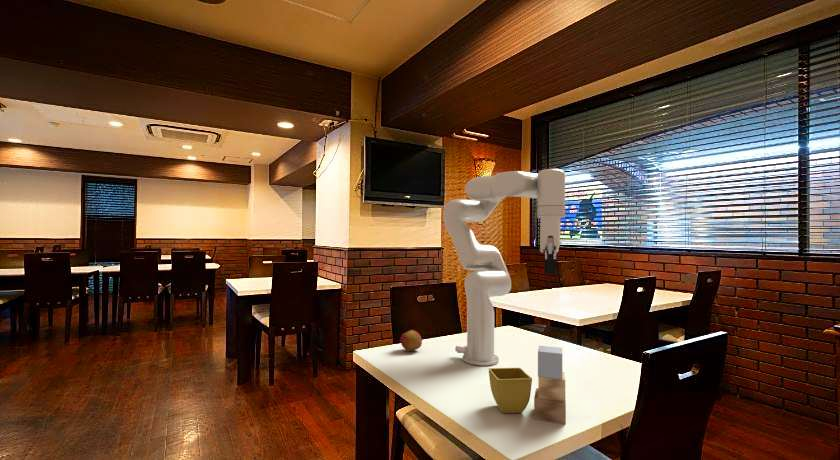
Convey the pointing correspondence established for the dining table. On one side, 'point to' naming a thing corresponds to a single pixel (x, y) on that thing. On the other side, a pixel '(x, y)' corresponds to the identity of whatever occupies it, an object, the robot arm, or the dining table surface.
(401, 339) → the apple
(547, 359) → the slate block
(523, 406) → the flower pot
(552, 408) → the brown wooden block
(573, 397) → the dining table surface
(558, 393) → the oak middle block
